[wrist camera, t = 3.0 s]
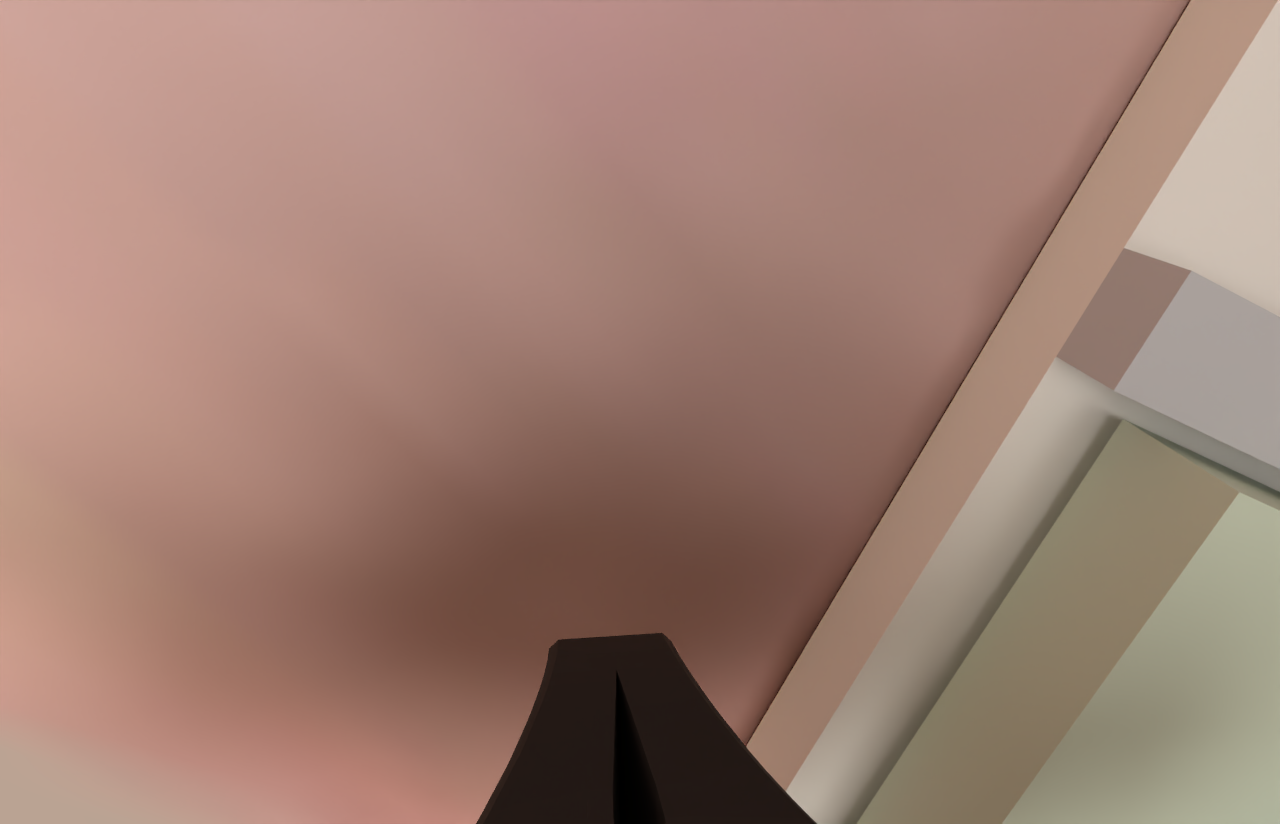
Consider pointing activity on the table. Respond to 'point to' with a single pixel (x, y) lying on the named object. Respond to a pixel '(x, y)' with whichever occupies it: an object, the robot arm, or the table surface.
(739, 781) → the robot arm
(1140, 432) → the sliding cover
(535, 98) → the table surface
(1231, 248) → the puzzle board
